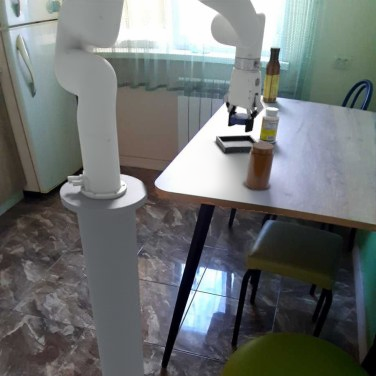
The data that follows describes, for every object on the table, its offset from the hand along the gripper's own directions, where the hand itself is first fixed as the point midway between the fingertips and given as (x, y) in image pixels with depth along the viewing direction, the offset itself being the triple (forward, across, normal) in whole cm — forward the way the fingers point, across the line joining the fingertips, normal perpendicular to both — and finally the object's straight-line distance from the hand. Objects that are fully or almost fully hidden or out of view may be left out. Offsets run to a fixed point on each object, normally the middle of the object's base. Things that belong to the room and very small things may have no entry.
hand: (240, 128), depth 134 cm
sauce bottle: (+6, +32, -56) cm, 65 cm away
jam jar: (+6, -25, +19) cm, 32 cm away
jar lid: (-3, 0, 0) cm, 3 cm away
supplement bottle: (+6, -2, -12) cm, 14 cm away
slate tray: (+6, 0, 0) cm, 6 cm away
